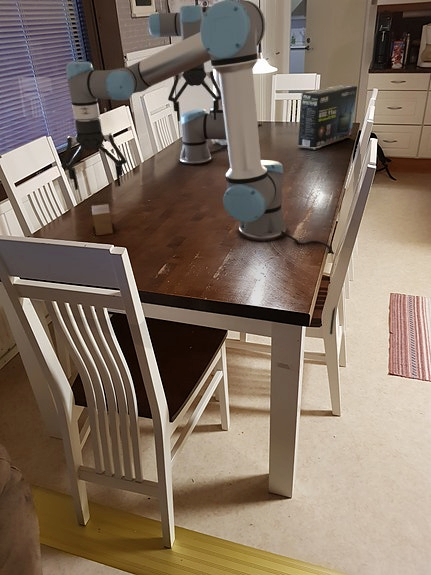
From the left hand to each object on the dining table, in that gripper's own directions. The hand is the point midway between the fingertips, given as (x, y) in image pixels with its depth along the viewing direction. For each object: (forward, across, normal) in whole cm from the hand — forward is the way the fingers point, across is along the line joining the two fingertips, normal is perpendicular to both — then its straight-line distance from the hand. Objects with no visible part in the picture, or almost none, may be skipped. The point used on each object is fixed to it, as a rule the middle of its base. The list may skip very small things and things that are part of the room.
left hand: (197, 119), depth 172 cm
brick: (+27, -31, -37) cm, 56 cm away
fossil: (+29, +10, +76) cm, 82 cm away
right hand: (+12, -31, -36) cm, 49 cm away
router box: (+29, +62, +71) cm, 99 cm away
